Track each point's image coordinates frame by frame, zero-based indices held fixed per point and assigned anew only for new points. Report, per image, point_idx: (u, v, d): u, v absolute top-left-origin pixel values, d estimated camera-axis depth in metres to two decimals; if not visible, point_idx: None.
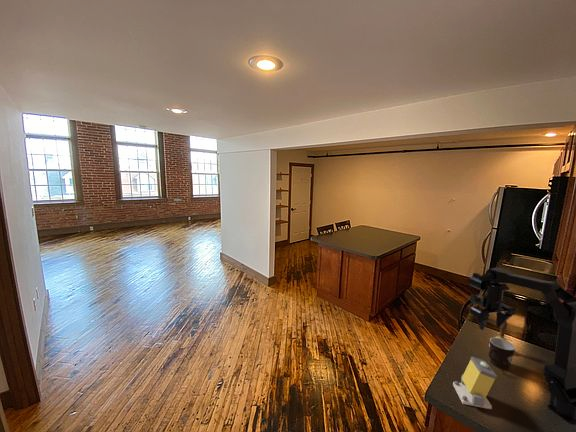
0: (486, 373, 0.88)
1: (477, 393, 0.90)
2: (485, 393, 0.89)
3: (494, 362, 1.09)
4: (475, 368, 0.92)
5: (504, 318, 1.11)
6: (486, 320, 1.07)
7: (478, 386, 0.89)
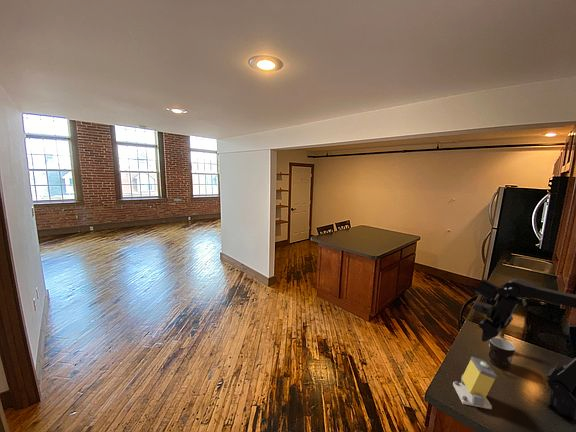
0: (486, 373, 0.88)
1: (477, 393, 0.90)
2: (485, 393, 0.89)
3: (494, 362, 1.09)
4: (475, 368, 0.92)
5: (502, 326, 1.04)
6: (496, 335, 0.97)
7: (478, 386, 0.89)
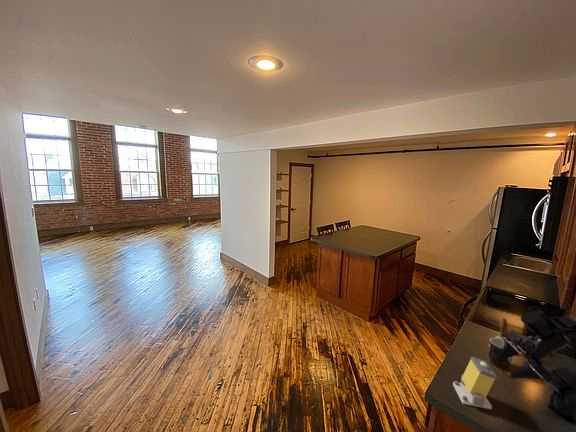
0: (486, 373, 0.88)
1: (477, 393, 0.90)
2: (485, 393, 0.89)
3: (494, 362, 1.09)
4: (475, 368, 0.92)
5: (513, 354, 0.93)
6: None
7: (478, 386, 0.89)
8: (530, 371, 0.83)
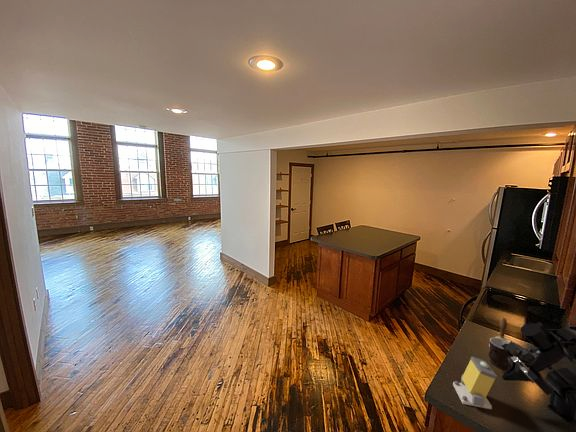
0: (486, 373, 0.88)
1: (477, 393, 0.90)
2: (485, 393, 0.89)
3: (494, 362, 1.09)
4: (475, 368, 0.92)
5: None
6: None
7: (478, 386, 0.89)
8: (521, 374, 0.88)
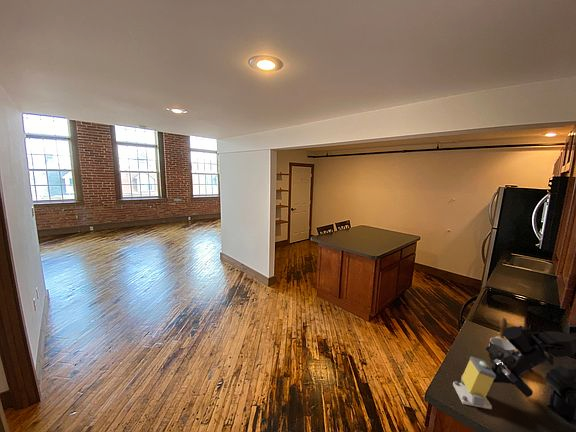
0: (485, 373, 0.88)
1: (477, 393, 0.90)
2: (485, 393, 0.89)
3: None
4: (474, 368, 0.92)
5: None
6: None
7: (477, 386, 0.90)
8: (503, 376, 0.89)
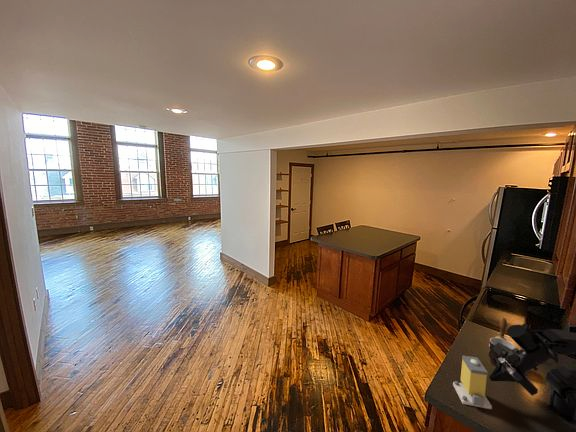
0: (476, 371, 0.89)
1: (475, 393, 0.90)
2: (483, 391, 0.89)
3: (494, 362, 1.09)
4: (466, 368, 0.92)
5: None
6: None
7: (473, 386, 0.90)
8: (507, 374, 0.89)
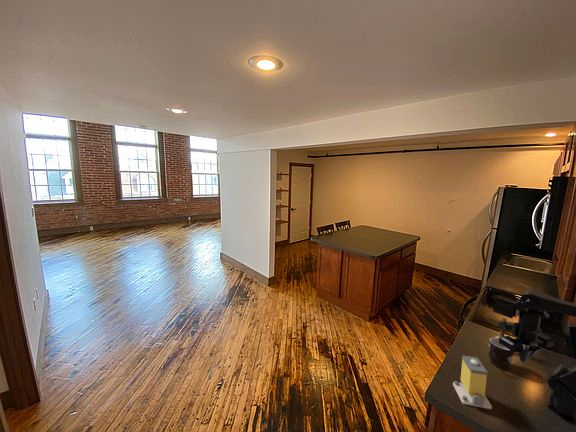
0: (476, 371, 0.89)
1: (475, 393, 0.90)
2: (483, 391, 0.89)
3: (494, 362, 1.09)
4: (466, 368, 0.92)
5: None
6: (529, 352, 0.91)
7: (473, 386, 0.90)
8: None
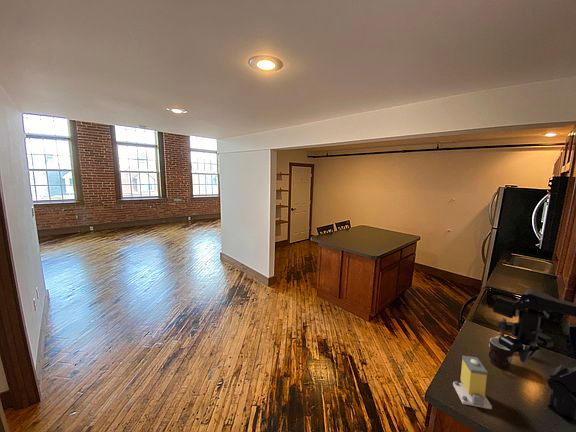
0: (476, 371, 0.89)
1: (475, 393, 0.90)
2: (483, 391, 0.89)
3: (494, 362, 1.09)
4: (466, 368, 0.92)
5: None
6: (529, 352, 0.91)
7: (473, 386, 0.90)
8: None
